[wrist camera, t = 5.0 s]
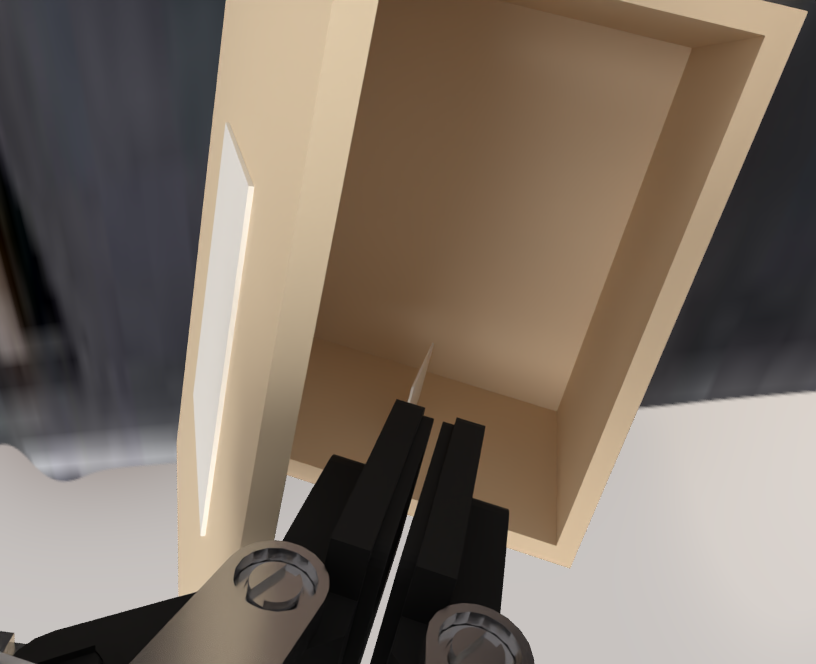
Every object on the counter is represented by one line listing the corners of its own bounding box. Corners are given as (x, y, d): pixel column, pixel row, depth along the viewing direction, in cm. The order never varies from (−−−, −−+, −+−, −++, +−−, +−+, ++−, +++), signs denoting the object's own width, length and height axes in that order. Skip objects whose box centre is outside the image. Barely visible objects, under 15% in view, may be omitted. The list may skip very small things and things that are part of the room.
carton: (714, 33, 29) (808, 11, 18) (544, 480, 39) (538, 642, 28) (364, -52, 31) (257, -119, 20) (283, 397, 40) (180, 519, 29)
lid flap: (439, -314, 6) (379, -340, 6) (207, 888, 14) (177, 894, 14) (257, -119, 20) (236, -126, 20) (189, 442, 28) (174, 442, 28)
